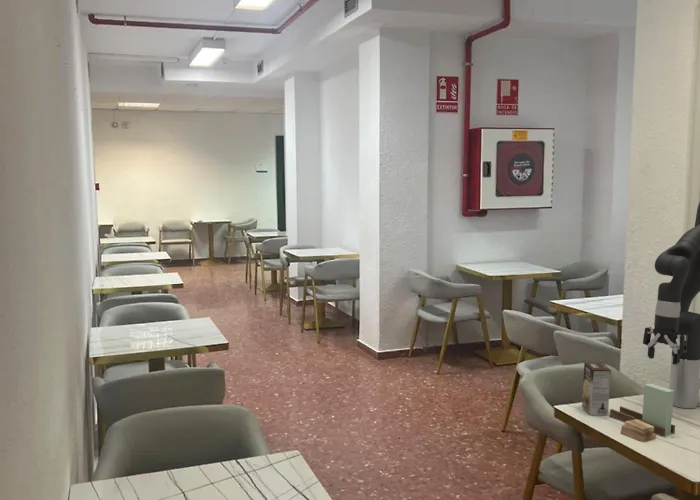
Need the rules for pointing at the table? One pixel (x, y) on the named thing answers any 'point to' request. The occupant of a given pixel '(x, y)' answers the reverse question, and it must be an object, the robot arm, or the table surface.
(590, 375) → the coffee box
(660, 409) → the pale green block
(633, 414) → the rack
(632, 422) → the offcut stack
